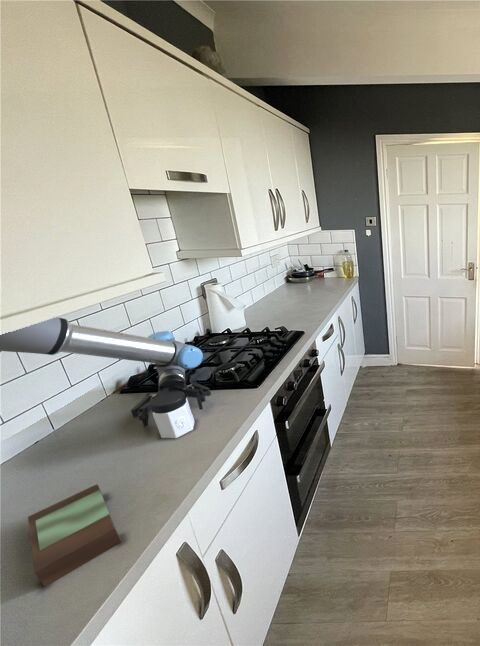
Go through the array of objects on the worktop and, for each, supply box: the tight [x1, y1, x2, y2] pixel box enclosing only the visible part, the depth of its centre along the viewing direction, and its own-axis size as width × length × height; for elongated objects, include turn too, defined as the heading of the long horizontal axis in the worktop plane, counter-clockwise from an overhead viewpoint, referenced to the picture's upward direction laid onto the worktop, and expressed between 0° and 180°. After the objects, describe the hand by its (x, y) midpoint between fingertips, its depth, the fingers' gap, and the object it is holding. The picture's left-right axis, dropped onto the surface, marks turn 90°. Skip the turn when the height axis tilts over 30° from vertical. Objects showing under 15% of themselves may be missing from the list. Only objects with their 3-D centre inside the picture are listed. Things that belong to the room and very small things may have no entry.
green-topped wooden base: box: [27, 483, 122, 588], centre depth 72 cm, size 18×11×5 cm, turn 50°
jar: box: [150, 391, 196, 439], centre depth 103 cm, size 9×8×12 cm
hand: (173, 414), depth 103 cm, fingers open, 13 cm apart
